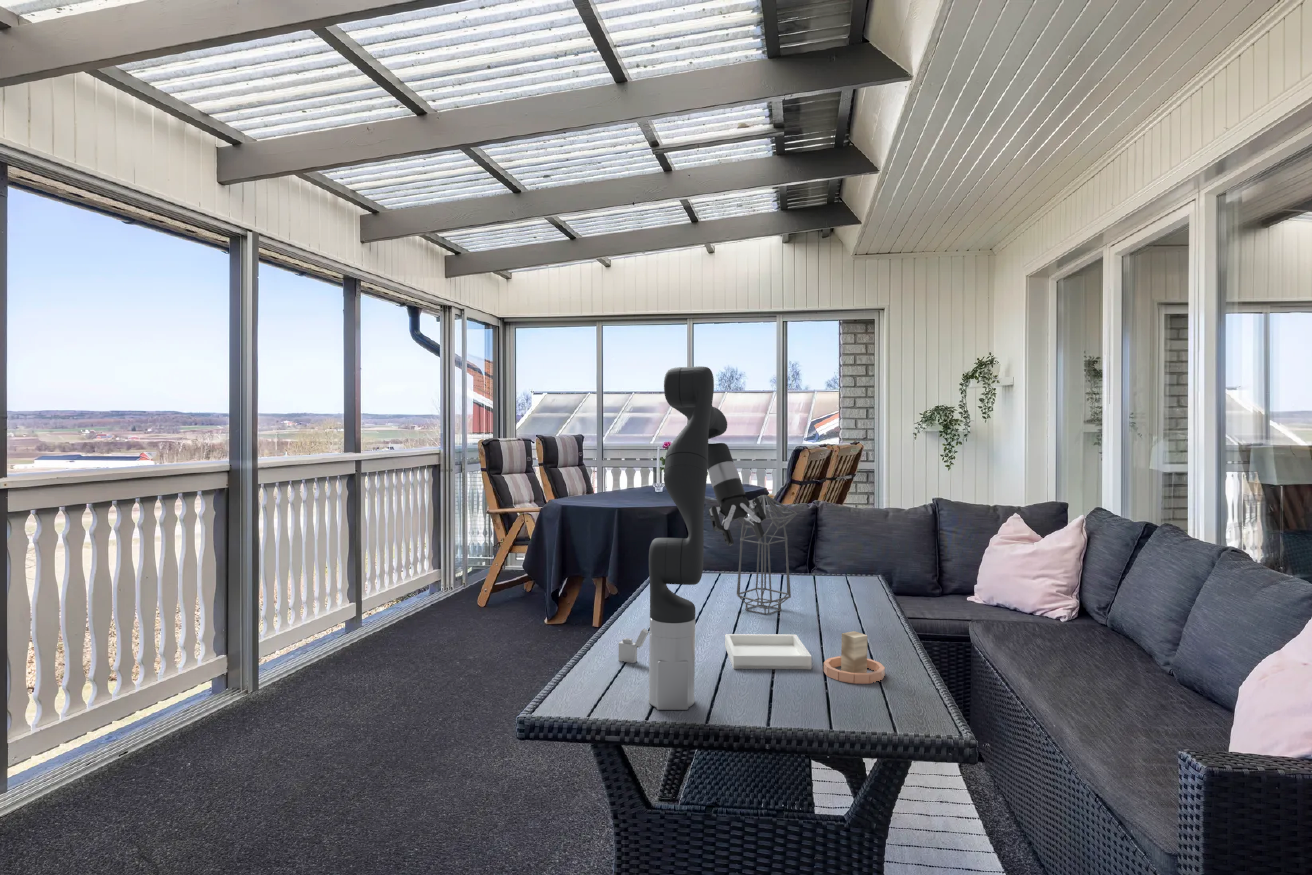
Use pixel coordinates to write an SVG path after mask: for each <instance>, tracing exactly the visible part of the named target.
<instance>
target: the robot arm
mask: <svg viewBox="0 0 1312 875" xmlns="http://www.w3.org/2000/svg"><path fill="white" fill-rule="evenodd" d="M663 380H664V381H663V392H664V397H665V400H666V402H667V404H668V405H669V406H670V407H671V408H673V409H675V411H678V412H679V413H680V414H682V415H683V416H685V417H686V419H687V420H688V421H687V423H686V425H685V426H684V427H683V429H682V430H681V432H679V433H678V434H677V436H676V437H675V438H674V439H673V441H672V442H671V443H670V445H669V447H668V449H667V451H666V454H665V458H664V469H663V483H664V486H665V488H666V491H667V493H668V494H669V496H670V499H672V501H673V503H674V505H675V506H676V508H677V509H678V511H679V513H680V514H681V517H682V519H683V522H684V523H685V524H684V525H686V528H687V533H688V534H687V538H686V537H685V538H682V537H656V538H654V539H653V540H651V543H650V545H649V550H648V574H649V646H648V647H649V648H648V650H649V653H648V655H649V656H648V659H649V660H648V661H649V662H648V665H649V667H648V702H649V704H650V705H651V706H652V707H655V708H656V710H661V711H662V710H663V711H664V710H665V711H667V710H668V711H669V710H671V711H673V710H674V711H677V710H679V711H681V710H683V711H687V710H689V708H690V707H692V706H693V705H694V704H695V685H696V684H695V681H696V680H695V673H696V670H695V669H696V668H695V666H696V665H695V663H696V605H695V603H694V602H692V601H691V600H689V599H686V598H684V597H682V596H680V595H677V594H676V593H674V592H673V591H672V590H670V589H669V587H668V585H681V586H682V585H684V586H685V585H686V586H688V585H689V586H691V585H692V586H695V585H698V584H699V583H700V582H701V579H702V576H703V573H704V572H703V571H704V555H705V554H704V553H705V551H704V546H705V545H704V539H705V538H704V535H705V534H704V532H705V531H704V529H705V528H704V527H705V525H704V522H705V521H704V520H705V518H704V517H705V516H704V514H705V502H706V492H707V491H706V490H707V482H708V481H707V478H708V476H709V481H710V484H711V485H710V486H712V490H713V493H714V496H715V499H716V502H717V504H718V506H714V505H713V506H712V507H711V508H710V509H708V515H709V517H710V522H711V525H712V530H713V531H714V532H720V533H721V534H722V538H723V540H724V542H725V544H726V545H727V546H728V547H731V546H732V545H734V543H735V541H734V538H733V535H732V533H731V529H730V528H729V527H730V524H731V522H735V521H738V520H741V519H743V518H744V520H747V521H749V522H748V523H750V522H751V525H752V526H753V525H754V526H753V528H754V530H753V532H754V531H755V532H754V534H755V533H756V534H755V535H756V536H755V537H756V539H757V540H759V539H761V540H762V539H763V538H764V536H763V535H764V534H765V533H764V529H763V526H762V523H763V522H764V521H765V520H764V519H766V516H767V514H766V515H765V513H764V511H763V508H764V507H763V508H762V506H761V505H762V502H761V503H760V501H759V499H758V498H757V497H755V498H753V499H751V500H749V499H748V498H747V496H746V491H745V489H744V486H743V482H742V480H741V476H740V474H739V471H738V468H737V467H736V465H735V463H734V460H733V457H732V453H731V451H730V448H729V446H728V444H727V443H724V442H716V443H715V442H714V443H710V442H709V440H710V439H714V438H716V437H719V436H722V435H723V434H725V433H726V431H727V429H728V420H727V418H726V416H725V414H724V413H723V412H722V411H721V410H720V409H719V408H717V407H715V406H713V402H714V401H713V399H714V390H715V388H714V387H715V380H714V374H713V372H712V370H711V369H710V368H709V367H708V366H683V367H681V366H679V367H677V366H676V367H673V368H670V369H668V370H667V371H666V372H665V375H664V379H663ZM750 506H751V508H753V509H754V511H753V512H752V511H751V510H750V509H749V507H750ZM754 512H755V513H754ZM719 514H722V515H723V518H722V519H723V520H722V522H721V520H720V517H719ZM747 514H748V515H747ZM763 520H764V521H763ZM766 520H767V519H766ZM741 521H742V520H741ZM762 521H763V522H762Z"/></svg>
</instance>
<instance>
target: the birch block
mask: <svg viewBox="0 0 1312 875" xmlns="http://www.w3.org/2000/svg"><path fill="white" fill-rule="evenodd" d="M840 648H841V653H840V654H841V655H840V656H841V666H840V671H846V672H852V673H868V669H867V658H868V635H867V634H864V633H862V632H858V631H855V630H853V631H848V632H847V631H846V632H843V633H841V647H840Z"/></svg>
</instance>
